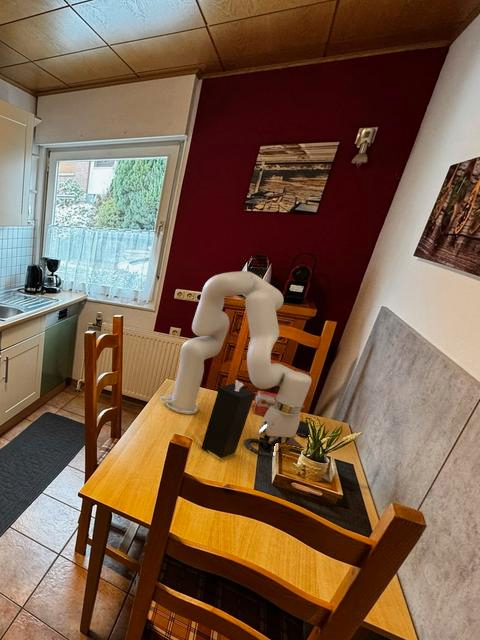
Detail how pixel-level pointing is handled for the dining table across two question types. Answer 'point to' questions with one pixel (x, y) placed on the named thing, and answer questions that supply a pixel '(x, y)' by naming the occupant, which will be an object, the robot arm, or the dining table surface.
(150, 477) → the dining table surface
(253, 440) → the ring
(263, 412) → the medicine box
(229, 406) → the tissue box
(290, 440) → the post
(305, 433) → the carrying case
